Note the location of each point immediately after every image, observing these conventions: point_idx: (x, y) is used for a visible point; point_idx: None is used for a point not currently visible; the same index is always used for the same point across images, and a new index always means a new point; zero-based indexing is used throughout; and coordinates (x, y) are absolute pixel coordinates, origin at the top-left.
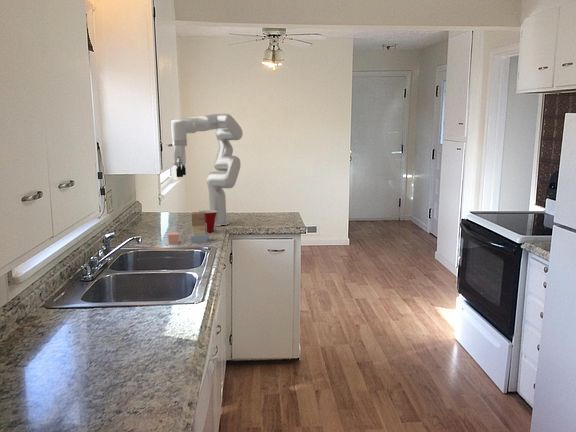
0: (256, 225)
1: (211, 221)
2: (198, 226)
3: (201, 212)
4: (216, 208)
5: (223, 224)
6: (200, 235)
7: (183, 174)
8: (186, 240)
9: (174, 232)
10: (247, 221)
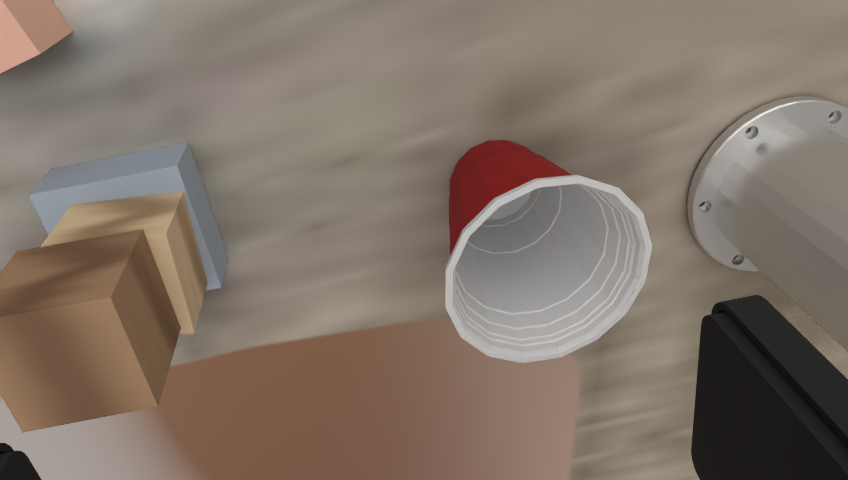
0: (683, 437)
1: (468, 273)
2: None
3: (115, 385)
4: (803, 274)
5: (704, 248)
6: None
7: (701, 425)
8: (132, 98)
9: (13, 24)
10: (839, 356)
